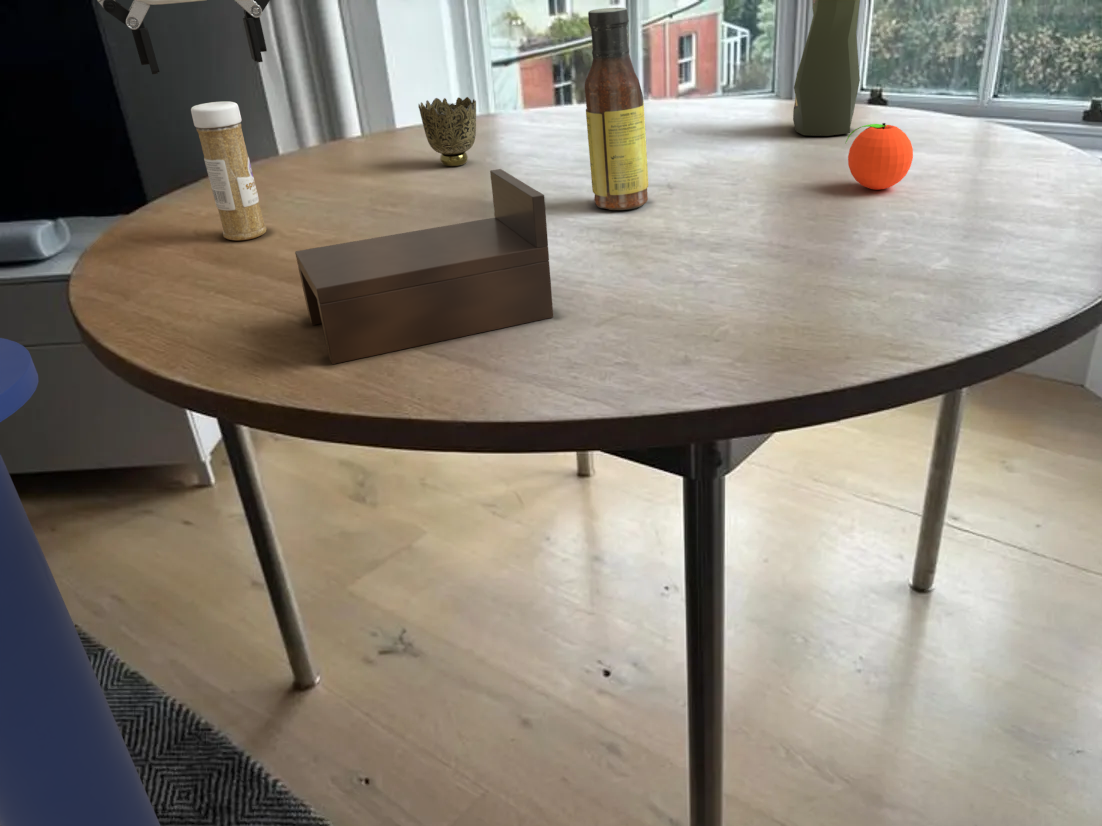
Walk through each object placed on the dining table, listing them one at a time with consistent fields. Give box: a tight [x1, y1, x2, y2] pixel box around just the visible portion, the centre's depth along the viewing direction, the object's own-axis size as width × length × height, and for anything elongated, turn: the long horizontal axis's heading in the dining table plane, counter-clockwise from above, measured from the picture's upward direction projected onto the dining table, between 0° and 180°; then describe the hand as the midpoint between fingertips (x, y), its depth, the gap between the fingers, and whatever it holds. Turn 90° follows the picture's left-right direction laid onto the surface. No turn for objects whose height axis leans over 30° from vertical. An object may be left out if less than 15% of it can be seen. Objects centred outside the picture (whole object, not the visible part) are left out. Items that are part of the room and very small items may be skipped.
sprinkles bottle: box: [190, 101, 267, 241], centre depth 97 cm, size 5×5×14 cm
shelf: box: [294, 168, 554, 365], centre depth 74 cm, size 18×10×10 cm, turn 115°
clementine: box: [844, 122, 914, 191], centre depth 103 cm, size 8×7×7 cm
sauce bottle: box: [584, 7, 649, 211], centre depth 99 cm, size 7×6×20 cm
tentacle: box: [792, 0, 861, 137], centre depth 123 cm, size 9×12×30 cm
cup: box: [418, 96, 477, 167], centre depth 122 cm, size 8×7×8 cm
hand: (207, 66), depth 92 cm, fingers open, 9 cm apart
